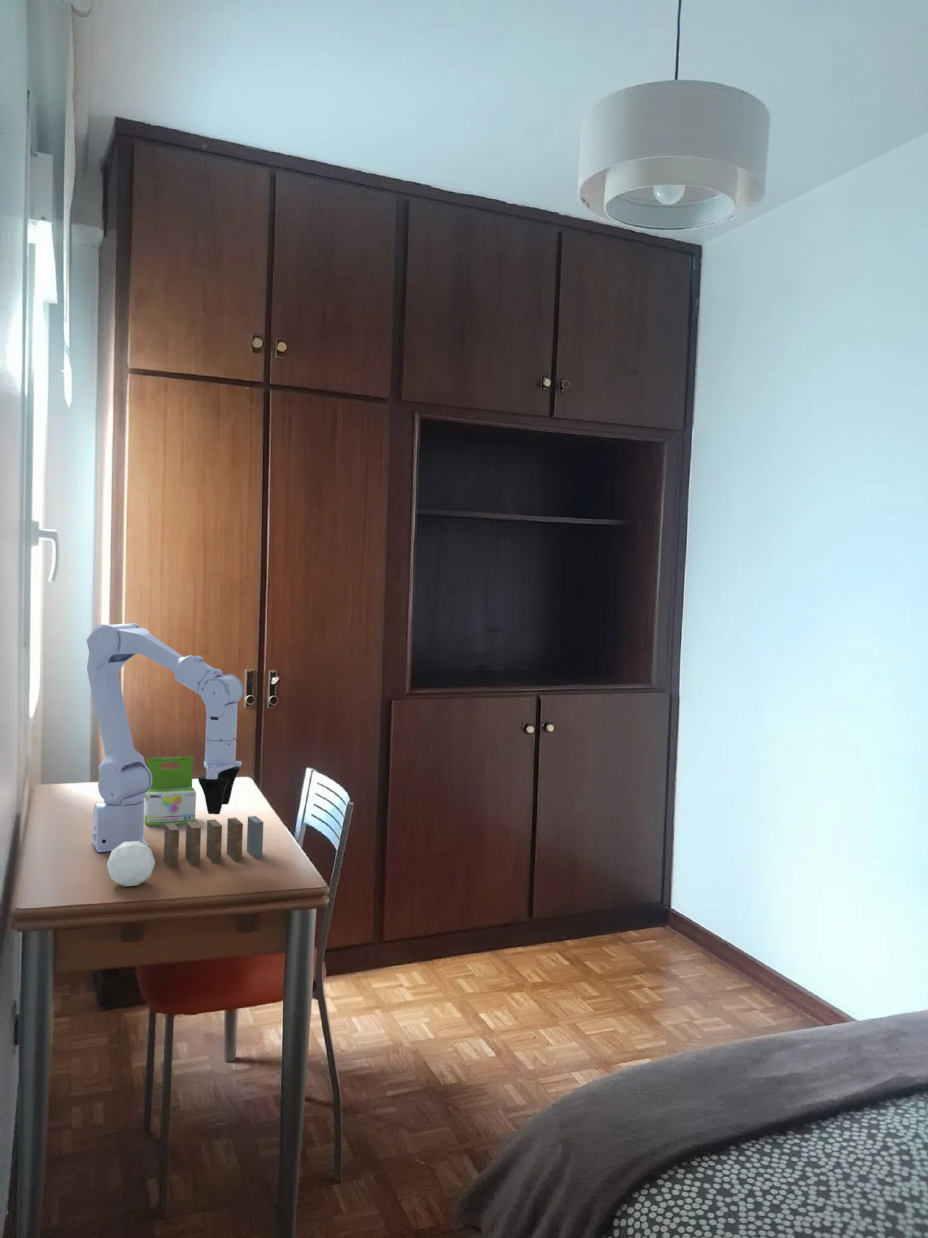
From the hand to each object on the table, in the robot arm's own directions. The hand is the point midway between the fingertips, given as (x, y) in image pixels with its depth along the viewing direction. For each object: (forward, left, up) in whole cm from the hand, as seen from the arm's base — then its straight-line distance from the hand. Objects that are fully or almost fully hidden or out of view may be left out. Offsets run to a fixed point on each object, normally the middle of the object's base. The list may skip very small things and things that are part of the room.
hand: (218, 808), depth 185 cm
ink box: (-3, +30, -10) cm, 32 cm away
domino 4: (+3, 0, -10) cm, 10 cm away
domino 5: (+7, 0, -10) cm, 12 cm away
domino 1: (-9, 0, -10) cm, 13 cm away
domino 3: (-1, 0, -10) cm, 10 cm away
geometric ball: (-18, -10, -10) cm, 23 cm away
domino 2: (-5, 0, -10) cm, 11 cm away
